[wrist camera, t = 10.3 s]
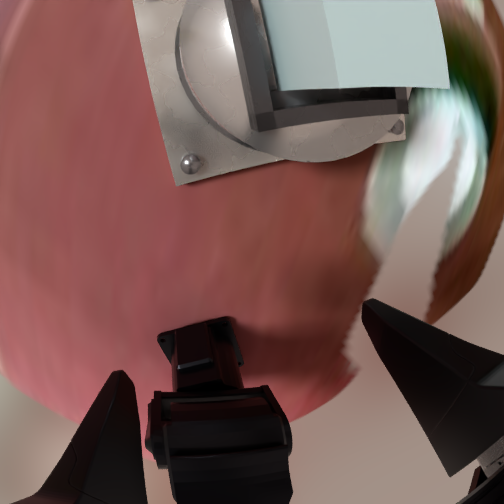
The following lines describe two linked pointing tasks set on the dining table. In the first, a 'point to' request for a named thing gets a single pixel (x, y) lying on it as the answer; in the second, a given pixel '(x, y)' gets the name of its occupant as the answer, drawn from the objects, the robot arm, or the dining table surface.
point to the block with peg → (355, 43)
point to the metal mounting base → (247, 94)
